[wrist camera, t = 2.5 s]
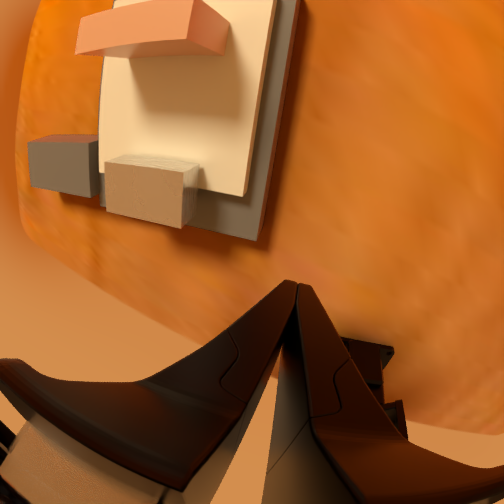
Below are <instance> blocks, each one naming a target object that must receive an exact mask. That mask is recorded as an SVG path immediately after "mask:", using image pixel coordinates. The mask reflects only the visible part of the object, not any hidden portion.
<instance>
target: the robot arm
mask: <svg viewBox="0 0 504 504" xmlns="http://www.w3.org/2000/svg"><path fill="white" fill-rule="evenodd" d="M281 347H282V349H281ZM280 350H281V357H280V367H279V377H278V386H277V395H276V403H275V412H274V420H273V429H272V435H271V443H270V450H269V457H268V465H267V472H266V477H265V484H264V490H263V497H262V503H261V504H493V503H495V502H497V501H499V500H501V499H503V498H504V465H502V466H497V467H494V468H477V467H472V466H469V465H466V464H463V463H460V462H457V461H454V460H451V459H449V458H446V457H444V456H441V455H439V454H436V453H434V452H431V451H429V450H426V449H424V448H421V447H419V446H417V445H415V444H413V443H411V442H409V441H408V434H407V427H406V420H405V414H404V408H403V402H402V400H397V401H395V402H392V403H386V404H385V401H384V389H383V383H384V381H383V369H384V368H385V366H386V365H387V364H388V362H389V361H390V359H391V358H392V356H393V355H394V348H393V347H391V346H386V345H381V344H375V343H370V342H364V341H359V340H354V339H349V338H344V337H340V336H339V334H338V333H337V331H336V329H335V327H334V325H333V323H332V322H331V320H330V318H329V316H328V314H327V313H326V311H325V309H324V307H323V306H322V304H321V302H320V300H319V298H318V297H317V295H316V293H315V291H314V290H313V288H312V286H310V285H307V284H303V283H299V284H297V282H294V281H290V280H284V281H283V282H281V283H280V284H279V285H278V286H277V287H276V288H274V289H273V290H272V291H271V292H270V293H269V294H267V295H266V296H265V297H264V298H263V299H262V300H260V301H259V302H258V303H257V304H256V305H254V306H253V307H252V308H251V309H250V310H248V311H247V312H246V313H245V314H244V315H242V316H241V317H240V318H239V319H238V320H236V321H235V322H234V323H233V324H231V325H230V326H229V327H228V328H227V329H226V330H224V331H223V332H221V333H220V334H219V335H218V336H217V337H215V338H214V339H213V340H211V341H210V342H208V343H207V344H206V345H204V346H203V347H201V348H200V349H198V350H196V351H195V352H193V353H192V354H190V355H188V356H186V357H185V358H183V359H181V360H179V361H178V362H176V363H174V364H173V365H171V366H169V367H167V368H165V369H163V370H162V371H160V372H158V373H156V374H154V375H152V376H150V377H148V378H145V379H143V380H139V381H135V382H83V381H66V380H59V379H55V378H51V377H48V376H45V375H43V374H41V373H39V372H38V371H36V370H35V369H33V368H32V367H31V366H29V365H28V364H26V363H25V362H24V361H22V360H20V359H7V358H5V359H4V358H3V359H0V391H1V392H2V393H3V394H4V396H5V397H6V398H7V399H8V400H9V402H10V403H11V404H12V405H13V406H14V407H15V408H16V410H17V411H18V412H19V413H20V414H21V415H22V416H23V417H24V418H25V419H26V420H27V421H26V423H25V424H24V426H23V427H22V428H21V430H20V431H19V433H18V434H17V436H16V435H15V434H14V433H13V432H12V431H11V430H10V429H9V428H8V427H6V425H5V424H4V423H2V421H1V420H0V504H210V502H211V500H212V499H213V497H214V495H215V493H216V491H217V489H218V487H219V485H220V483H221V481H222V479H223V477H224V475H225V474H226V471H227V469H228V467H229V465H230V463H231V461H232V459H233V457H234V455H235V453H236V451H237V449H238V447H239V445H240V443H241V441H242V438H243V436H244V434H245V432H246V430H247V428H248V425H249V423H250V421H251V419H252V417H253V414H254V412H255V410H256V408H257V405H258V403H259V401H260V399H261V396H262V394H263V391H264V389H265V387H266V385H267V382H268V380H269V377H270V375H271V373H272V370H273V368H274V365H275V363H276V360H277V358H278V356H279V353H280Z"/></svg>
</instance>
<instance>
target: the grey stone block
mask: <svg viewBox="0 0 504 504" xmlns="http://www.w3.org/2000/svg"><path fill="white" fill-rule="evenodd" d="M199 167H200V164H198V163H191V162H184V161H177V160H170V159H162V158H154V157H145V156H136V155H127V154H125V155H122V156H119V157H116V158H113V159H111V160H108V161H105V162H104V173H105V196H106V211H107V212H111V213H115V214H119V215H124V216H128V217H132V218H137V219H141V220H146V221H150V222H154V223H159V224H163V225H167V226H171V227H176V228H180V229H181V228H182V227H183V226H184V225H185V224H186V223H188V222H189V221H190V220H191V219H192V218H193V217H194V216H195V215H196V206H197V192H198V179H199Z"/></svg>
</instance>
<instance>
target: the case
mask: <svg viewBox="0 0 504 504" xmlns="http://www.w3.org/2000/svg"><path fill="white" fill-rule="evenodd" d="M115 1H116V0H114V2H115ZM114 2H113V7H114ZM300 3H301V0H277V4H276V10H275V16H274V22H273V28H272V34H271V40H270V46H269V52H268V58H267V64H266V70H265V76H264V82H263V89H262V95H261V101H260V108H259V114H258V121H257V127H256V134H255V140H254V147H253V154H252V161H251V167H250V174H249V181H248V188H247V192H246V193H245V194H244V196H243V197H241V196H236V195H231V194H226V193H221V192H216V191H211V190H206V189H200V188H198V192H197V206H196V215H195V216H194V217H193V218H192V219H191V220H190V221H189V222H188V223H186V224H185V225H188V226H193V227H197V228H201V229H206V230H210V231H214V232H219V233H223V234H227V235H232V236H236V237H240V238H245V239H249V240H253V241H257V239H258V236H259V234H260V232H261V230H262V228H263V222H264V216H265V211H266V205H267V199H268V194H269V188H270V182H271V176H272V170H273V165H274V159H275V153H276V147H277V141H278V135H279V130H280V124H281V118H282V112H283V106H284V100H285V94H286V88H287V82H288V76H289V70H290V64H291V58H292V52H293V46H294V40H295V34H296V28H297V21H298V15H299V9H300ZM113 7H112V9H113ZM104 58H105V56H104ZM104 58H103V65H104ZM103 65H102V74H103ZM102 74H101V85H102ZM101 85H100V97H101ZM100 97H99V114H100ZM28 159H29V171H30V181H31V187H36V188H42V189H47V190H52V191H57V192H63V193H68V194H73V195H78V196H83V197H88V198H92V197H94V196H95V195H97V194H99V197H100V206H103V207H106V196H105V173H100V172H99V115H98V135H50V136H46V137H43V138H40V139H36V140H33V141H30V142H28Z"/></svg>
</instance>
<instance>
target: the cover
mask: <svg viewBox="0 0 504 504" xmlns="http://www.w3.org/2000/svg"><path fill="white" fill-rule="evenodd" d="M276 4H277V0H116V1H115V2H114V7H113V9H110V10H106V11H102V12H99V13H95V14H92V15H89V16H86V17H83V18H81V21H80V26H79V32H78V37H77V43H76V50H75V55H93V56H105V58H104V65H103V74H102V85H101V97H100V114H99V172H100V173H104V162H105V161H108V160H111V159H113V158H116V157H119V156H122V155H125V154H127V155H136V156H145V157H154V158H162V159H170V160H177V161H184V162H191V163H198V164H200V167H199V179H198V188H200V189H206V190H211V191H216V192H221V193H226V194H231V195H236V196H241V197H243V196H244V194H245V193H246V192H247V188H248V181H249V174H250V167H251V161H252V154H253V147H254V140H255V134H256V127H257V121H258V114H259V108H260V101H261V95H262V89H263V82H264V76H265V70H266V64H267V58H268V52H269V46H270V40H271V34H272V28H273V22H274V16H275V10H276Z"/></svg>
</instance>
